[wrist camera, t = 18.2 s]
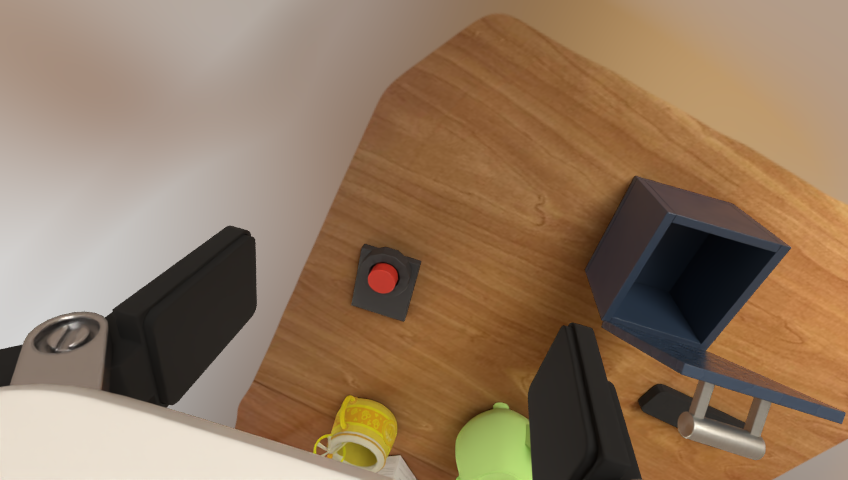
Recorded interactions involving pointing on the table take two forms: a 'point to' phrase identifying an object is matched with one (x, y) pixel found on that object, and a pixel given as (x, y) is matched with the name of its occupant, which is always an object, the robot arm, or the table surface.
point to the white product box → (396, 469)
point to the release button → (383, 278)
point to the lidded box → (679, 263)
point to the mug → (361, 434)
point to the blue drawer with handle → (727, 376)
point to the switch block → (400, 296)
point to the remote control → (677, 406)
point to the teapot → (494, 446)
